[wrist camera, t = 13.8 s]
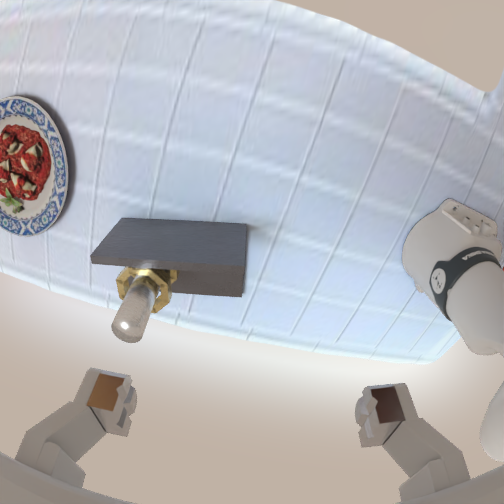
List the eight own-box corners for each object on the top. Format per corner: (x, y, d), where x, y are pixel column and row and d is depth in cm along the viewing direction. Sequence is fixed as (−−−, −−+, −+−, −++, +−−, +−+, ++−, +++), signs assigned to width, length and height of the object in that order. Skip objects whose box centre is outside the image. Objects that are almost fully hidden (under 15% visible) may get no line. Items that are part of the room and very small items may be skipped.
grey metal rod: (169, 248, 49) (140, 319, 34) (171, 271, 51) (145, 345, 36) (144, 247, 48) (107, 316, 34) (147, 269, 50) (114, 341, 36)
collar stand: (246, 223, 48) (244, 266, 37) (241, 293, 54) (239, 342, 44) (121, 217, 47) (90, 255, 37) (131, 284, 54) (108, 329, 43)
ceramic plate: (1, 73, 33) (-10, 74, 31) (98, 139, 41) (90, 142, 38) (-33, 188, 43) (-41, 194, 41) (48, 255, 51) (41, 263, 48)
